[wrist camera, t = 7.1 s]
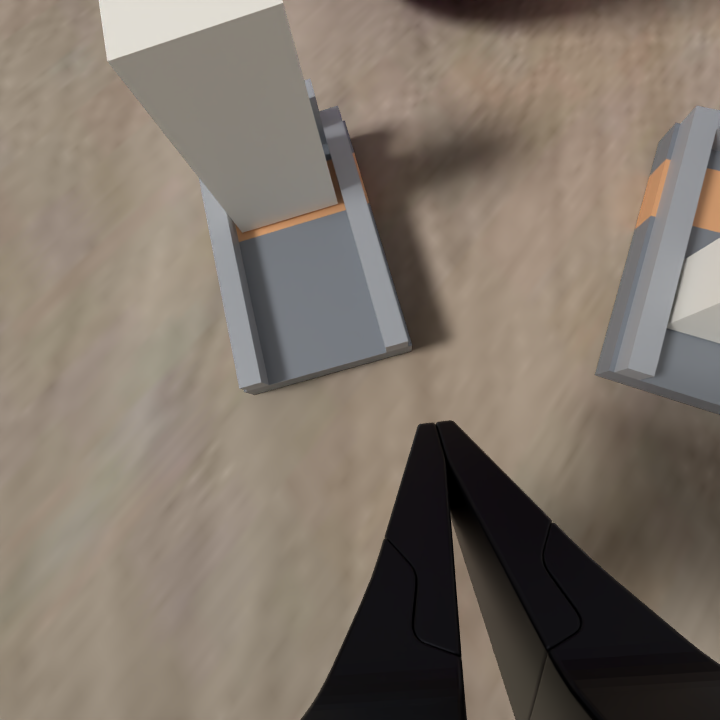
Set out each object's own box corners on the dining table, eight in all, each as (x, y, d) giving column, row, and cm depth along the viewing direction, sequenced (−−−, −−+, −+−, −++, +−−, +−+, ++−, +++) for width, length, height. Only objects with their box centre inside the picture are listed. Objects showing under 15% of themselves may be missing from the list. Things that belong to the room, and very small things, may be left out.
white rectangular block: (337, 203, 19) (283, 2, 10) (242, 232, 19) (107, 61, 10) (323, 153, 20) (260, -77, 11) (231, 182, 20) (95, -21, 11)
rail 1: (411, 351, 18) (414, 328, 14) (254, 394, 19) (215, 384, 15) (347, 137, 21) (335, 70, 17) (211, 180, 21) (168, 123, 18)
